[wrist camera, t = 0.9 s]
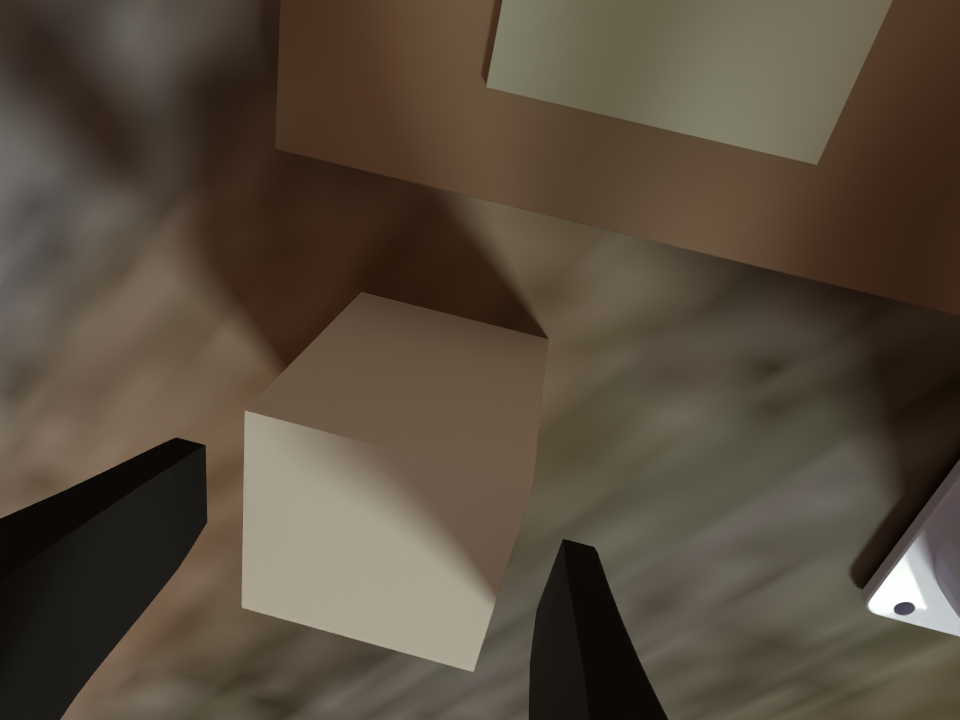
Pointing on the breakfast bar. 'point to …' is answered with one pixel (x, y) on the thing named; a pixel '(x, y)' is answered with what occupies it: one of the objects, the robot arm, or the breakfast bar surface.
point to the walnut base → (659, 121)
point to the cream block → (392, 478)
